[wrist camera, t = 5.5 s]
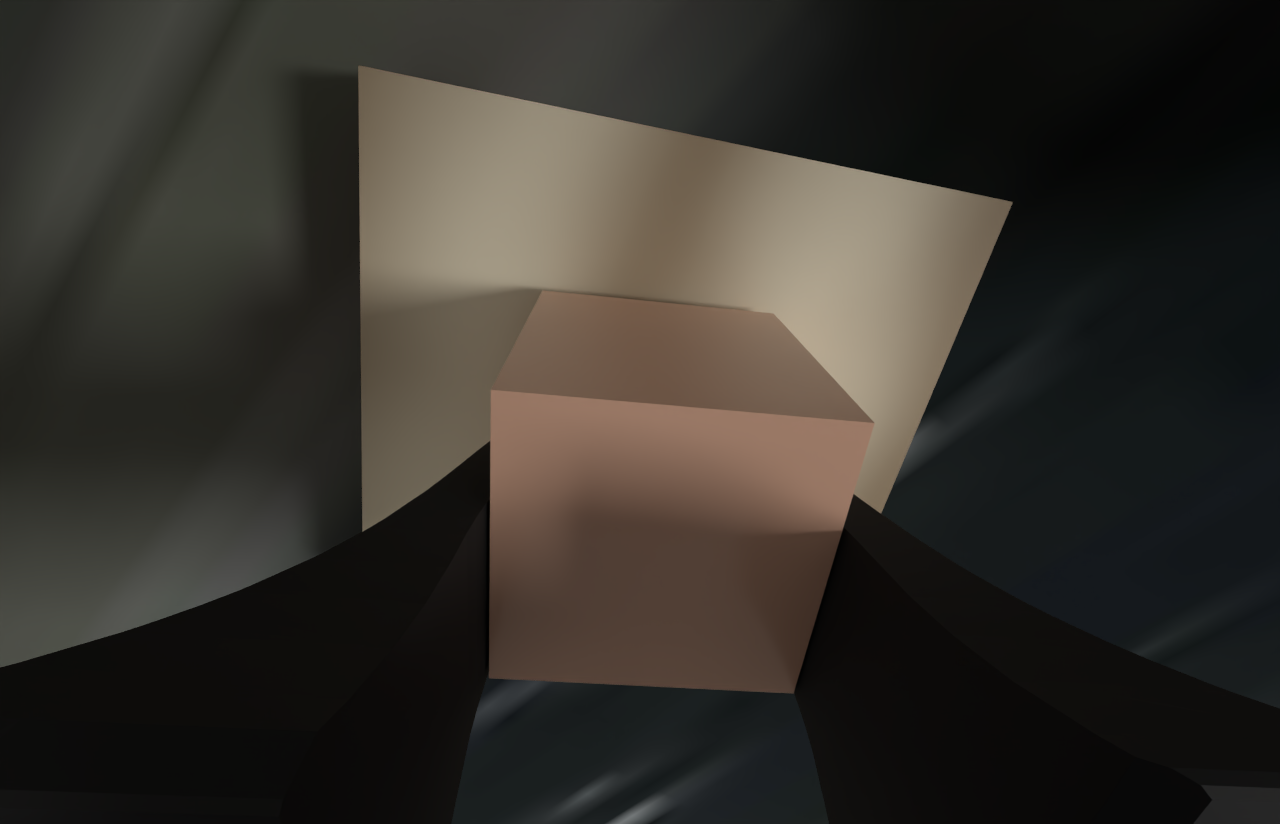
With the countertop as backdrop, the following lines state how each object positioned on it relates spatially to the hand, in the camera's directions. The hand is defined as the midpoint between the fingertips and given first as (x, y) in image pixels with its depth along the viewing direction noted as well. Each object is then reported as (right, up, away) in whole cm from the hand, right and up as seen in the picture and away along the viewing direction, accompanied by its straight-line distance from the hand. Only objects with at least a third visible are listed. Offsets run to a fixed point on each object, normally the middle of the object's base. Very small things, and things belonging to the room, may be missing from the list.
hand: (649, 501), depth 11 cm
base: (0, +2, +4) cm, 5 cm away
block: (0, +2, +2) cm, 2 cm away
